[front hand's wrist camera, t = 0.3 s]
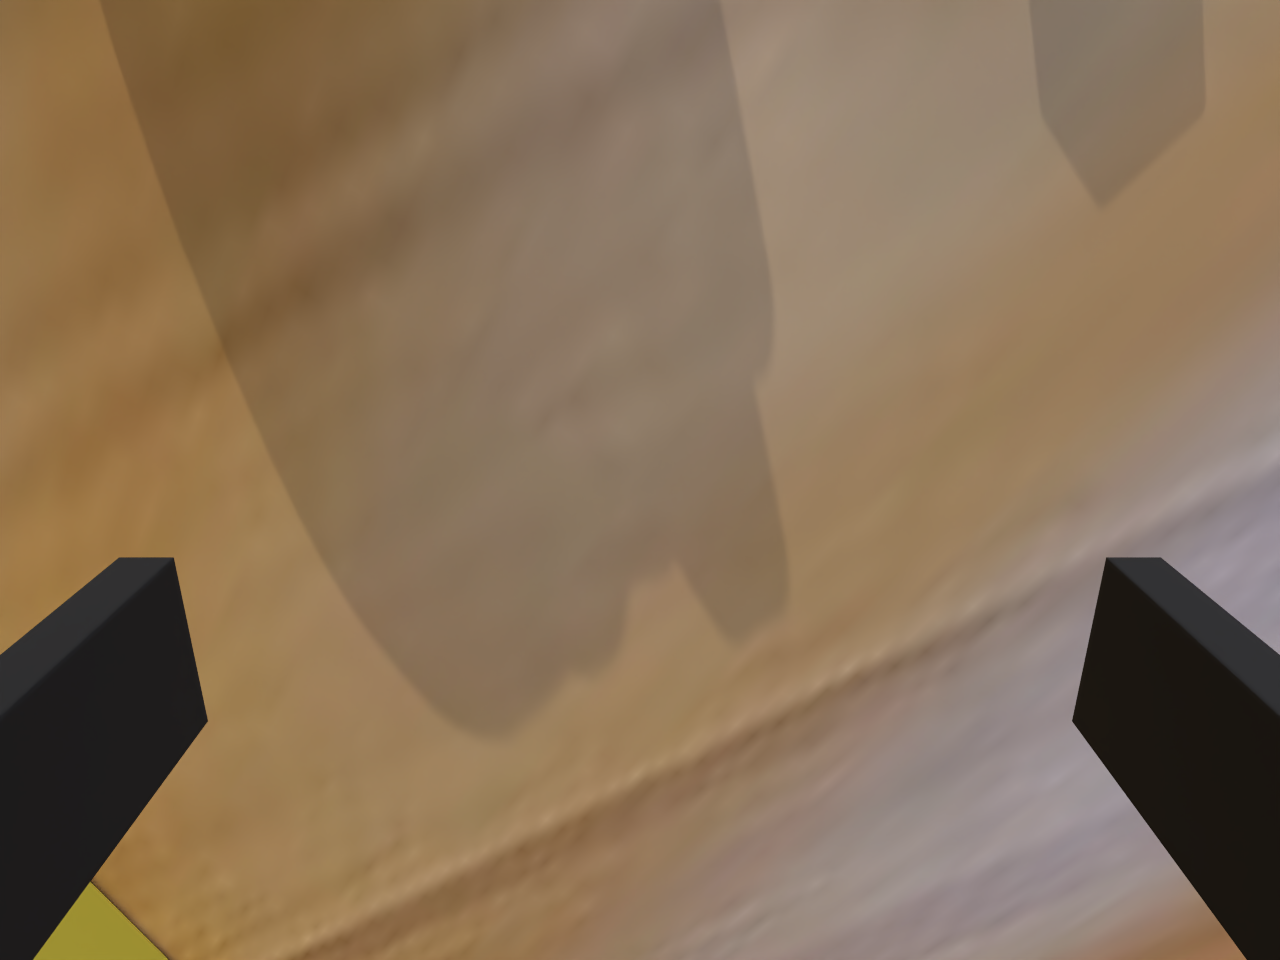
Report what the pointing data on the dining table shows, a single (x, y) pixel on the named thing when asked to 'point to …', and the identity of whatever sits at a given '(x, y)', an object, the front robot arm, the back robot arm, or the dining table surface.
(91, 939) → the crown
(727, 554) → the dining table surface
